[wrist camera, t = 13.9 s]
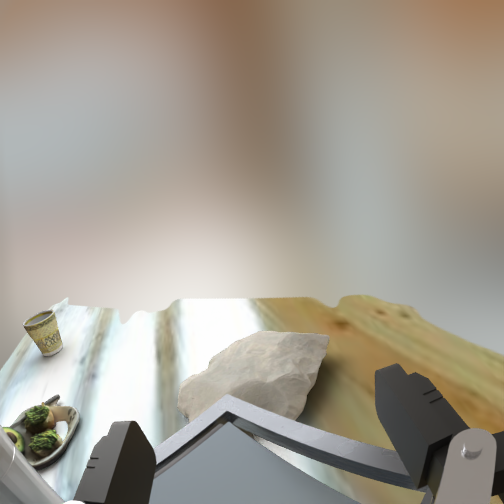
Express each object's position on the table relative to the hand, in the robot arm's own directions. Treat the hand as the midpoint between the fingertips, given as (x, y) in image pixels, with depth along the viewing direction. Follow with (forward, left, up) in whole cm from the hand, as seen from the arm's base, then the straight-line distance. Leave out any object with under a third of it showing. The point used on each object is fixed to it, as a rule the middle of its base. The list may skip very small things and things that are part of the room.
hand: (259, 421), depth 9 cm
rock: (+21, +23, -24) cm, 39 cm away
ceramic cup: (+3, +84, -24) cm, 87 cm away
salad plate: (-12, +47, -25) cm, 54 cm away
